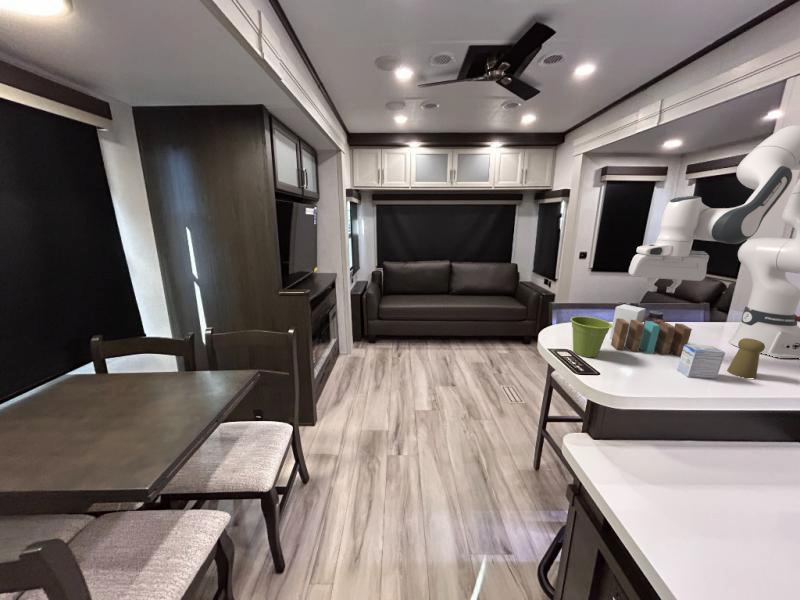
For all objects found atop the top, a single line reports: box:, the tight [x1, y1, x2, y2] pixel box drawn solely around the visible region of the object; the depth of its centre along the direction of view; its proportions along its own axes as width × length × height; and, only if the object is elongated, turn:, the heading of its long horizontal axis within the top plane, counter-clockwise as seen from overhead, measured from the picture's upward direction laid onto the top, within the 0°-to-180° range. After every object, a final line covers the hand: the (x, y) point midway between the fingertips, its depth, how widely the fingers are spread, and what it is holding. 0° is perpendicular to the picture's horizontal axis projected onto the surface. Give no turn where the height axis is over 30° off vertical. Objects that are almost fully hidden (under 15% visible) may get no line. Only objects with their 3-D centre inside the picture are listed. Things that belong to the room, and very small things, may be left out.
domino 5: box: [669, 323, 693, 358], centre depth 106 cm, size 2×5×10 cm, turn 168°
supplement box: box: [609, 303, 647, 343], centre depth 117 cm, size 7×7×13 cm
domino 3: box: [639, 321, 660, 355], centre depth 108 cm, size 2×5×10 cm, turn 167°
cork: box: [726, 338, 765, 379], centre depth 93 cm, size 6×6×11 cm
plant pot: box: [570, 315, 613, 358], centre depth 104 cm, size 12×12×11 cm
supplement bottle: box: [643, 310, 666, 325], centre depth 117 cm, size 6×6×11 cm
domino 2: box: [624, 320, 645, 353], centre depth 109 cm, size 2×5×10 cm, turn 167°
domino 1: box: [610, 318, 630, 352], centre depth 110 cm, size 2×5×10 cm, turn 167°
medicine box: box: [676, 344, 726, 379], centre depth 92 cm, size 8×4×9 cm, turn 84°
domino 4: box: [654, 321, 676, 356], centre depth 107 cm, size 2×5×10 cm, turn 167°
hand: (661, 292), depth 104 cm, fingers open, 4 cm apart
